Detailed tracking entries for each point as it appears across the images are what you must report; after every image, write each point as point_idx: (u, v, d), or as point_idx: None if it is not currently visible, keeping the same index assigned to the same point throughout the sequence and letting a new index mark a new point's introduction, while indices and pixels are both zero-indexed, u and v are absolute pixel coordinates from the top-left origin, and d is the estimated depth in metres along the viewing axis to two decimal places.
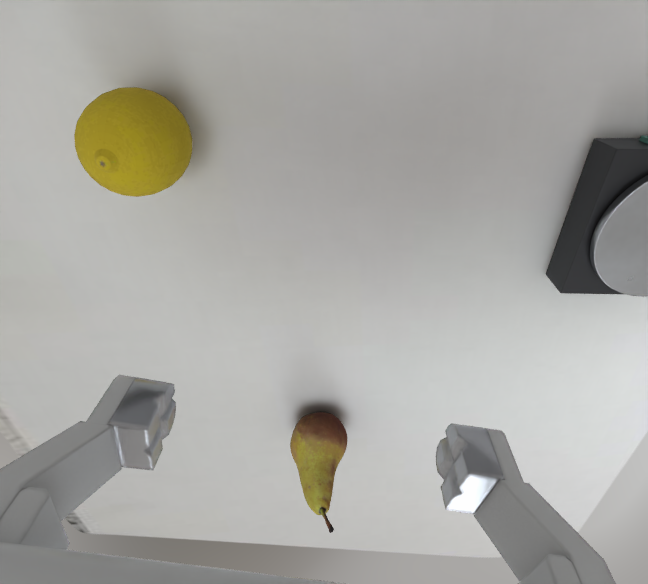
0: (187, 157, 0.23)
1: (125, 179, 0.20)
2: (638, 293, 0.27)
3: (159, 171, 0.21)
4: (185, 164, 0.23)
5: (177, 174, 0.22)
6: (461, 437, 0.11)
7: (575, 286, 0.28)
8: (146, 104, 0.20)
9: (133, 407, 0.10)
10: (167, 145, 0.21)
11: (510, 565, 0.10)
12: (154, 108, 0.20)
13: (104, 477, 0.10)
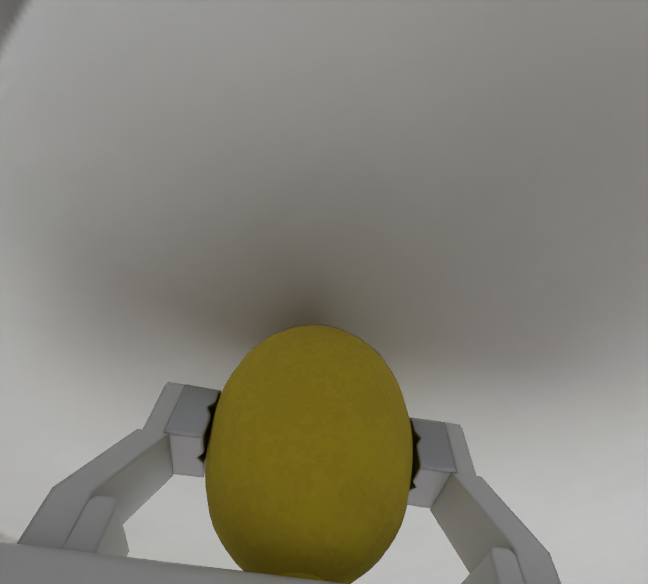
0: (406, 413, 0.10)
1: (349, 582, 0.09)
2: None
3: (395, 517, 0.09)
4: (409, 425, 0.11)
5: None
6: (417, 431, 0.11)
7: None
8: (294, 405, 0.09)
9: (186, 414, 0.10)
10: (378, 457, 0.09)
11: (463, 559, 0.10)
12: (310, 399, 0.09)
13: (158, 484, 0.10)
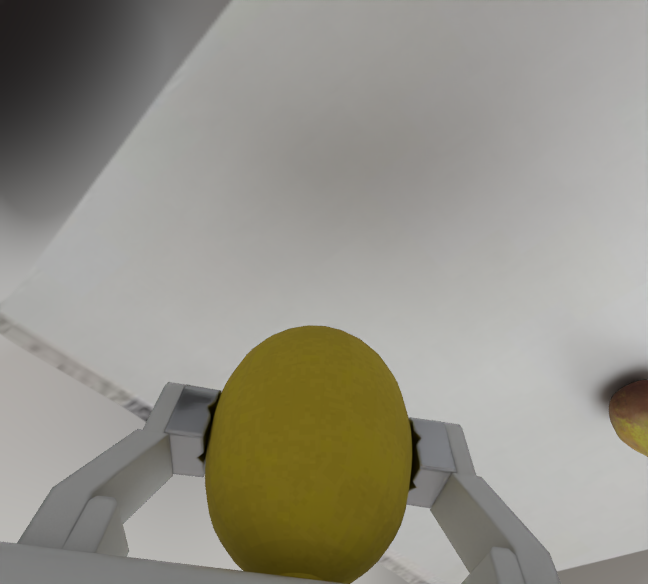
0: (405, 413, 0.10)
1: (348, 582, 0.09)
2: None
3: (395, 516, 0.09)
4: (408, 426, 0.11)
5: (411, 461, 0.10)
6: (417, 431, 0.11)
7: None
8: (293, 405, 0.09)
9: (186, 415, 0.10)
10: (378, 457, 0.09)
11: (463, 559, 0.10)
12: (310, 399, 0.09)
13: (157, 484, 0.10)
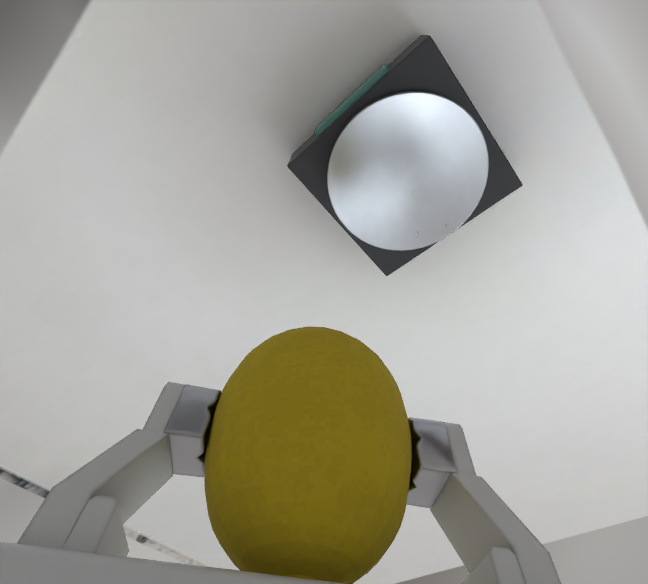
0: (405, 415, 0.10)
1: None
2: (441, 236, 0.25)
3: (394, 519, 0.09)
4: (408, 427, 0.11)
5: None
6: (417, 431, 0.11)
7: (391, 264, 0.27)
8: (292, 407, 0.09)
9: (186, 414, 0.10)
10: (377, 459, 0.09)
11: (463, 559, 0.10)
12: (309, 401, 0.09)
13: (157, 484, 0.10)
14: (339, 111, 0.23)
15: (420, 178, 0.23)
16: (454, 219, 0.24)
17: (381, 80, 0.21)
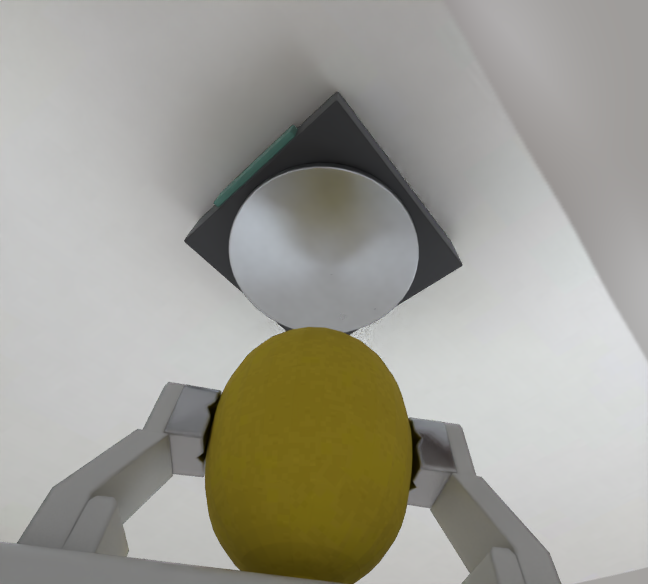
0: (405, 415, 0.10)
1: None
2: (370, 320, 0.21)
3: (395, 519, 0.09)
4: (409, 427, 0.11)
5: (411, 463, 0.10)
6: (417, 431, 0.11)
7: None
8: (293, 407, 0.09)
9: (186, 414, 0.10)
10: (378, 459, 0.09)
11: (463, 559, 0.10)
12: (310, 401, 0.09)
13: (157, 484, 0.10)
14: (240, 180, 0.19)
15: (339, 259, 0.19)
16: (383, 303, 0.21)
17: (284, 149, 0.17)
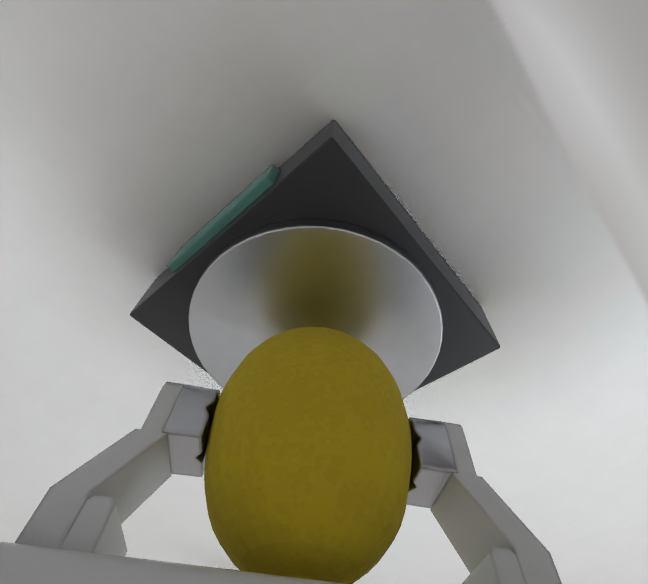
0: (405, 415, 0.10)
1: None
2: None
3: (394, 519, 0.09)
4: (408, 427, 0.11)
5: None
6: (417, 431, 0.11)
7: None
8: (292, 407, 0.09)
9: (185, 414, 0.10)
10: (377, 460, 0.09)
11: (463, 559, 0.10)
12: (309, 401, 0.09)
13: (156, 484, 0.10)
14: (201, 240, 0.14)
15: None
16: None
17: (258, 202, 0.12)
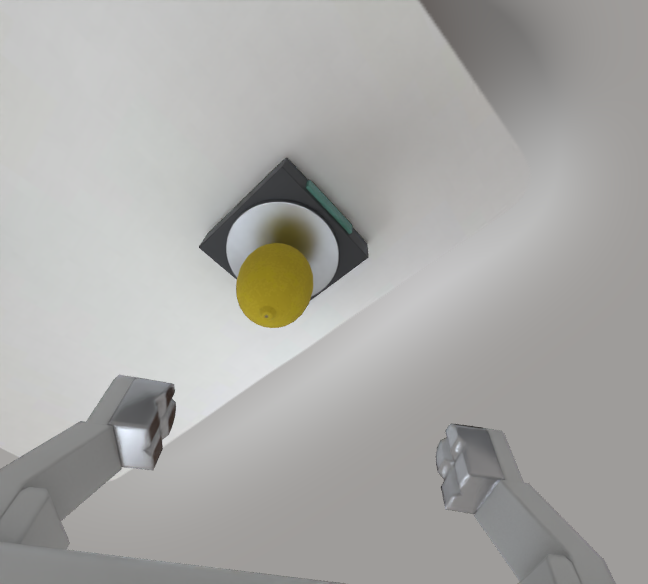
0: None
1: (264, 323, 0.27)
2: None
3: (282, 326, 0.28)
4: None
5: None
6: (461, 437, 0.11)
7: (210, 249, 0.33)
8: (309, 289, 0.28)
9: (133, 407, 0.10)
10: (299, 316, 0.28)
11: (510, 565, 0.10)
12: (310, 292, 0.28)
13: (104, 477, 0.10)
14: (323, 203, 0.31)
15: None
16: None
17: (344, 232, 0.32)
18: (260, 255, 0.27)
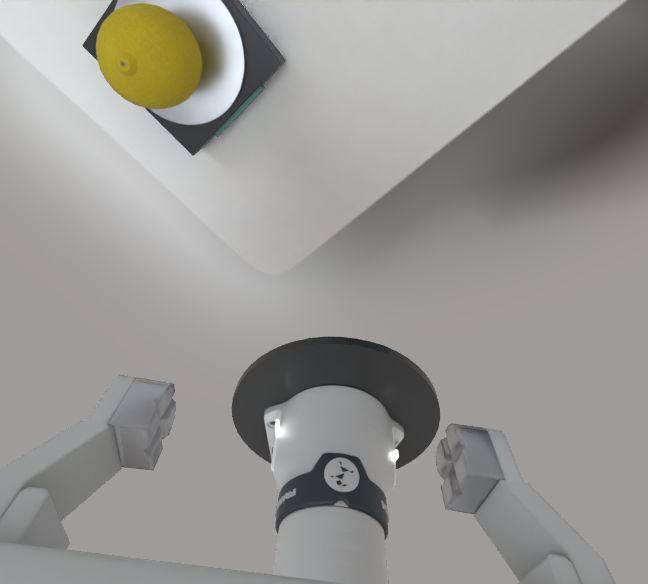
0: None
1: (106, 54, 0.21)
2: None
3: (103, 74, 0.23)
4: None
5: None
6: (461, 437, 0.11)
7: None
8: (160, 108, 0.25)
9: (133, 407, 0.10)
10: (122, 96, 0.24)
11: (510, 565, 0.10)
12: None
13: (104, 477, 0.10)
14: (244, 106, 0.30)
15: None
16: None
17: (216, 129, 0.31)
18: (190, 45, 0.23)
